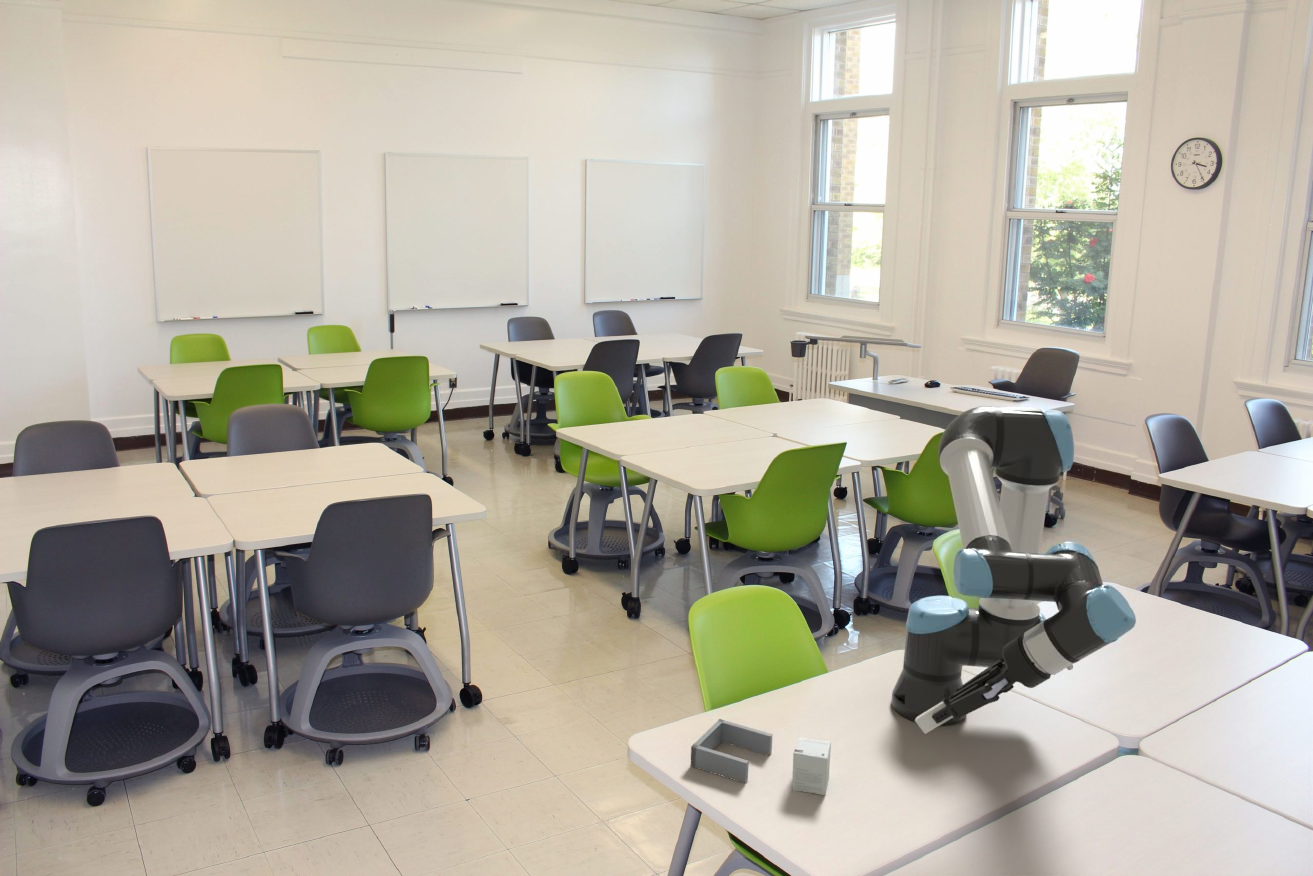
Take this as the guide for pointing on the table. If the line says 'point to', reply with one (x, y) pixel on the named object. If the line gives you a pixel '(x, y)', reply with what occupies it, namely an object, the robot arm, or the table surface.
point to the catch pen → (723, 762)
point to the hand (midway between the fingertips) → (921, 725)
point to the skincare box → (811, 766)
